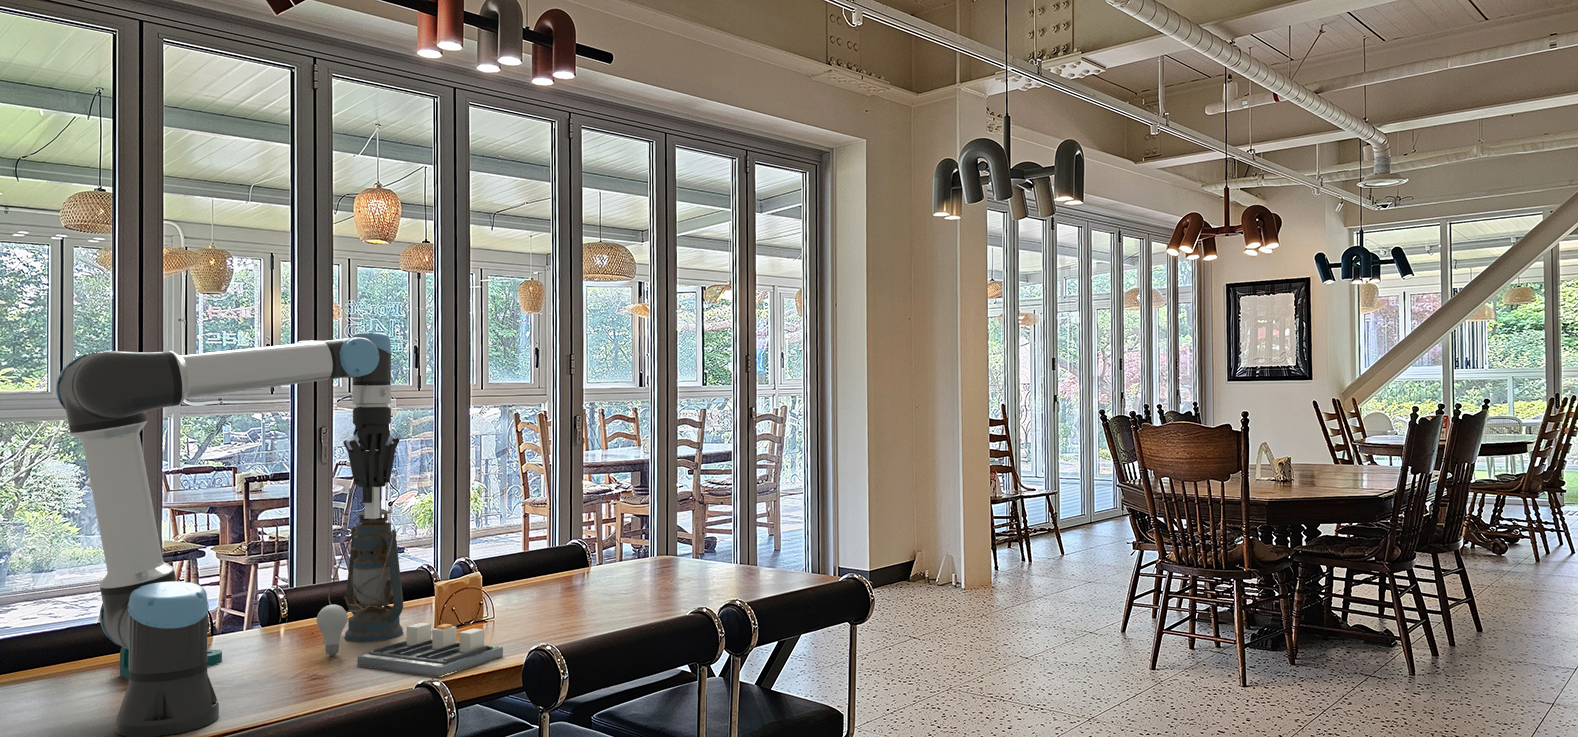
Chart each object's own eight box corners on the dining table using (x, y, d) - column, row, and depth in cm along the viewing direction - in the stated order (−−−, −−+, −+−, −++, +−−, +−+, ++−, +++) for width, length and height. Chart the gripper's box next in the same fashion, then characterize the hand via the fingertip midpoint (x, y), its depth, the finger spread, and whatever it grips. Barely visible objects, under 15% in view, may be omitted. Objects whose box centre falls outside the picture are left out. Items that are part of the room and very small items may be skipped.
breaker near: (470, 652, 217) (470, 633, 217) (459, 651, 218) (459, 632, 218) (484, 648, 221) (483, 629, 221) (473, 647, 222) (473, 628, 222)
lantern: (424, 634, 244) (423, 506, 245) (372, 647, 232) (372, 512, 233) (370, 626, 254) (369, 503, 255) (317, 638, 242) (317, 509, 243)
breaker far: (417, 646, 224) (416, 627, 224) (406, 645, 225) (406, 626, 225) (430, 642, 227) (430, 623, 227) (420, 640, 228) (420, 622, 229)
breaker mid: (443, 649, 220) (443, 627, 220) (432, 648, 221) (432, 626, 222) (456, 645, 224) (456, 623, 224) (446, 644, 225) (446, 622, 225)
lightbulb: (336, 660, 221) (335, 608, 221) (310, 659, 222) (310, 607, 223) (353, 652, 227) (353, 602, 227) (328, 652, 228) (328, 601, 229)
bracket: (132, 682, 207) (132, 642, 207) (119, 676, 211) (119, 637, 211) (227, 663, 221) (227, 626, 221) (214, 658, 225) (214, 621, 225)
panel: (440, 677, 206) (440, 663, 206) (357, 665, 216) (357, 652, 216) (502, 656, 222) (502, 643, 222) (422, 646, 232) (422, 633, 232)
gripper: (359, 406, 212) (360, 522, 211) (408, 405, 224) (409, 515, 223) (333, 406, 215) (334, 520, 215) (383, 405, 227) (383, 514, 226)
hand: (372, 518), depth 219 cm, fingers closed
